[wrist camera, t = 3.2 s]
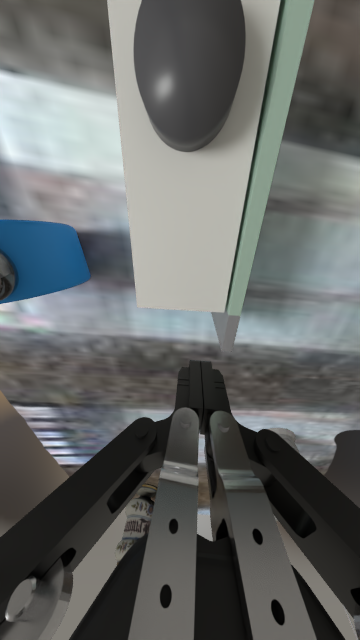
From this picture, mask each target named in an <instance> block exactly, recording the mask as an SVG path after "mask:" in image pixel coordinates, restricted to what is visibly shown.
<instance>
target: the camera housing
mask: <svg viewBox="0 0 360 640" xmlns="http://www.w3.org/2000/svg"><path fill="white" fill-rule="evenodd" d="M280 1H281V0H107V3H108V13H109V24H110V34H111V44H112V54H113V64H114V75H115V85H116V95H117V105H118V115H119V126H120V136H121V146H122V156H123V166H124V177H125V187H126V197H127V207H128V217H129V228H130V238H131V248H132V258H133V268H134V279H135V289H136V299H137V307H138V308H155V309H172V310H188V311H205V312H222V313H224V311H225V306H226V300H227V295H228V289H229V284H230V278H231V273H232V267H233V261H234V256H235V250H236V245H237V239H238V234H239V228H240V223H241V217H242V211H243V206H244V200H245V195H246V189H247V184H248V178H249V173H250V167H251V162H252V156H253V150H254V145H255V139H256V134H257V128H258V123H259V117H260V112H261V106H262V101H263V95H264V89H265V84H266V78H267V73H268V67H269V62H270V56H271V51H272V45H273V39H274V34H275V28H276V23H277V17H278V12H279V6H280Z"/></svg>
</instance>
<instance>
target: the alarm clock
mask: <svg viewBox="0 0 360 640" xmlns="http://www.w3.org/2000/svg"><path fill="white" fill-rule="evenodd" d="M90 277H91V274H90V271H89V268H88V265H87V262H86V259H85V256H84V253H83V250H82V247H81V244H80V241H79V237H78V235H77V232H76V230H75V229H74V228H73V227H71V226H69V225H66V224H61V223H53V222H43V221H29V220H0V304H2V303H8V302H13V301H19V300H24V299H28V298H33V297H37V296H42V295H46V294H50V293H54V292H57V291H61V290H64V289H68V288H71V287H74V286H77V285H79V284H82V283H84V282H86V281H88V280H89V279H90Z"/></svg>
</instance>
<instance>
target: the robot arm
mask: <svg viewBox="0 0 360 640" xmlns="http://www.w3.org/2000/svg"><path fill="white" fill-rule="evenodd" d="M199 432H200V434H203V435H205V447H204V453H205V461H206V469H207V478H208V486H209V494H210V518H211V528H212V537H213V541H209V540H207V539H205V538H204V537H202V536H200V535H198V534H197V509H198V441H199ZM161 467H162V469H161V473H160V478H159V483H158V488H157V493H156V498H155V503H154V508H153V513H152V519H151V524H150V529H149V533H147V534H146V535H144V536H142V537H141V538H140V539H139V540H137V541H136V542H135V543H134V544H133V545H132V546H131V547H130V548H129V550H128V551H127V552H126V553H125V555H124V556H123V557H122V559H121V560H120V562H119V563H118V565H117V567H116V568H115V570H114V571H113V573H112V574H111V576H110V577H109V579H108V580H107V582H106V583H105V585H104V586H103V588H102V589H101V591H100V593H99V594H98V596H97V597H96V599H95V601H94V602H93V604H92V605H91V606H90V608H89V610H88V611H87V613H86V614H85V616H84V617H83V619H82V620H81V622H80V623H79V625H78V626H77V628H76V630H75V631H74V633H73V634H72V636H71V637H70V639H69V640H345V638H344V637H343V635H342V634H341V632H340V631H339V630H338V628H337V627H336V625H335V624H334V622H333V621H332V619H331V618H330V616H329V615H328V614H327V612H326V611H325V609H324V608H323V606H322V605H321V603H320V602H319V600H318V599H317V597H316V596H315V595H314V593H313V592H312V590H311V589H310V587H309V586H308V584H307V583H306V582H305V580H304V579H303V578H302V576H301V575H300V574H299V573H298V572H297V570H296V569H295V568H294V567H293V566H292V565H291V564H290V561H289V558H288V555H287V552H286V549H285V546H284V543H283V540H282V538H281V535H280V532H279V529H278V526H277V523H276V520H275V517H276V518H277V519H278V521H279V522H280V523H281V525H282V526H283V527H284V529H285V530H286V531H287V533H288V534H289V535H290V536H291V538H292V539H293V540H294V542H295V543H296V544H297V546H298V547H299V548H300V549H301V551H302V552H303V553H304V555H305V556H306V557H307V559H308V560H309V561H310V562H311V564H312V565H313V566H314V568H315V569H316V570H317V572H318V573H319V574H320V575H321V577H322V578H323V579H324V581H325V582H326V583H327V585H328V586H329V587H330V588H331V590H332V591H333V592H334V594H335V595H336V596H337V598H338V599H339V600H340V602H341V603H342V604H343V605H344V607H345V608H346V609H347V610H348V612H349V613H350V614H351V616H352V617H353V618H354V623H355V629H356V632H357V637H358V640H360V508H359V507H357V506H356V505H355V504H354V503H353V502H352V501H351V500H350V499H349V498H348V497H347V496H345V495H344V494H343V493H342V492H341V491H340V490H339V489H338V488H337V487H336V486H334V485H333V484H332V483H331V482H330V481H329V480H328V479H327V478H326V477H324V476H323V475H322V474H321V473H320V472H319V471H318V470H317V469H316V468H315V467H314V466H312V465H311V464H310V463H309V462H308V461H307V460H306V459H305V458H304V457H303V456H301V455H300V454H299V453H298V452H297V451H296V450H295V449H294V448H293V447H292V446H290V445H289V444H288V443H287V442H286V441H285V440H284V439H283V438H282V437H281V436H279V435H278V434H277V433H275V432H273V431H271V430H268V429H262V430H260V431H259V432H258V433H257V432H255V431H253V430H250V429H248V428H246V427H244V426H242V425H241V424H239V423H238V422H237V421H236V420H235V419H234V417H233V415H232V413H231V410H230V405H229V401H228V397H227V392H226V389H225V384H224V379H223V375H222V374H221V373H220V371H219V370H215V369H212V364H211V362H209V361H195V360H190V364H189V368H188V367H182V368H181V370H180V371H179V374H178V384H177V394H176V403H175V409H174V411H173V413H172V414H171V415H170V416H169V417H168V418H166V419H164V420H160V421H157V422H154V421H153V420H152V419H150V418H147V417H143V418H139V419H137V420H135V421H134V422H133V423H132V424H131V425H129V426H128V427H127V428H126V429H125V430H124V431H123V432H121V433H120V434H119V435H118V436H117V437H116V438H114V439H113V440H112V441H111V442H110V443H109V444H108V445H106V446H105V447H104V448H103V449H102V450H101V451H99V452H98V453H97V454H96V455H95V456H94V457H93V458H91V459H90V460H89V461H88V462H87V463H86V464H84V465H83V466H82V467H81V468H80V469H79V470H78V471H76V472H75V473H74V474H73V475H72V476H71V477H69V478H68V479H67V480H66V481H65V482H64V483H63V484H61V485H60V486H59V487H58V488H57V489H56V490H54V491H53V492H52V493H51V494H50V495H49V496H48V497H46V498H45V499H44V500H43V501H42V502H41V503H39V504H38V505H37V506H36V507H35V508H34V509H33V510H31V511H30V512H29V513H28V514H27V515H26V516H25V517H23V518H22V519H21V520H20V521H19V522H18V523H16V525H14V526H13V527H12V528H11V529H9V530H8V531H7V532H6V533H5V534H4V535H3V536H1V537H0V640H51V639H52V637H53V635H54V634H55V632H56V631H57V629H58V627H59V626H60V624H61V622H62V619H63V617H64V615H65V613H66V611H67V608H68V605H69V602H70V598H71V594H72V588H73V574H72V572H73V571H74V569H75V568H76V567H77V566H78V564H79V563H80V562H81V561H82V559H83V558H84V557H85V556H86V555H87V553H88V552H89V551H90V550H91V548H92V547H93V546H94V544H96V542H97V541H98V540H99V539H100V537H101V536H102V535H103V534H104V532H105V531H106V530H107V529H108V527H109V526H110V525H111V524H112V523H113V521H114V520H115V519H116V518H117V516H118V515H119V514H120V513H121V511H122V510H123V509H124V508H125V506H126V505H127V504H128V503H129V501H130V500H131V499H132V498H133V497H134V495H135V494H136V493H137V492H138V490H139V489H140V488H141V487H142V485H143V484H144V483H145V482H146V480H147V479H148V478H149V477H150V476H151V474H152V473H153V472H154V470H156V469H158V468H161ZM274 516H275V517H274ZM252 534H253V535H252Z"/></svg>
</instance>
